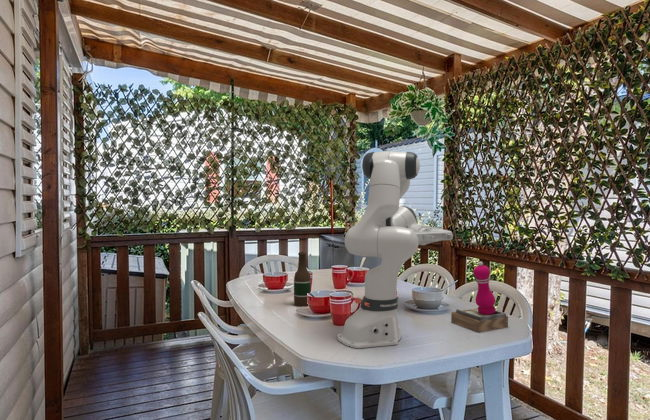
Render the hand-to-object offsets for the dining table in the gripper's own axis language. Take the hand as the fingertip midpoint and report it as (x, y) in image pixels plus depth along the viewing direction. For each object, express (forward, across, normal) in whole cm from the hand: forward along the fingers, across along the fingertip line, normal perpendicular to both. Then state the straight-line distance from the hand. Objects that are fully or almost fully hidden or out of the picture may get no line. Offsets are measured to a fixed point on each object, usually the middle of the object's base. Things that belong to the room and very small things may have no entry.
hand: (442, 237), depth 184 cm
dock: (+19, +2, +32) cm, 37 cm away
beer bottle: (-40, -47, +32) cm, 69 cm away
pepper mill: (+19, +5, +27) cm, 34 cm away
